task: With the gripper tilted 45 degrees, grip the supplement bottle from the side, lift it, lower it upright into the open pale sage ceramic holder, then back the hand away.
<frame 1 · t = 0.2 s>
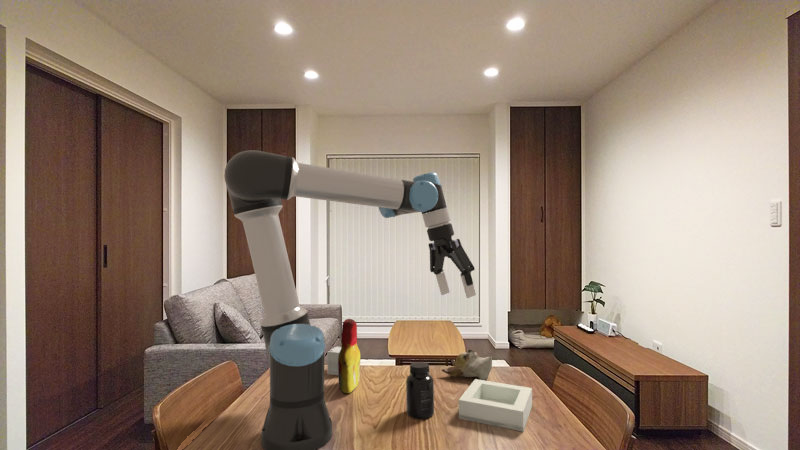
hand: (457, 295, 115), 27 cm above the table, fingers open, 13 cm apart
skincare box: (339, 372, 127), on the table
ceramic sculpture: (469, 377, 123), on the table
bottle: (348, 388, 114), on the table
holder: (496, 411, 98), on the table
supplement bottle: (420, 414, 97), on the table
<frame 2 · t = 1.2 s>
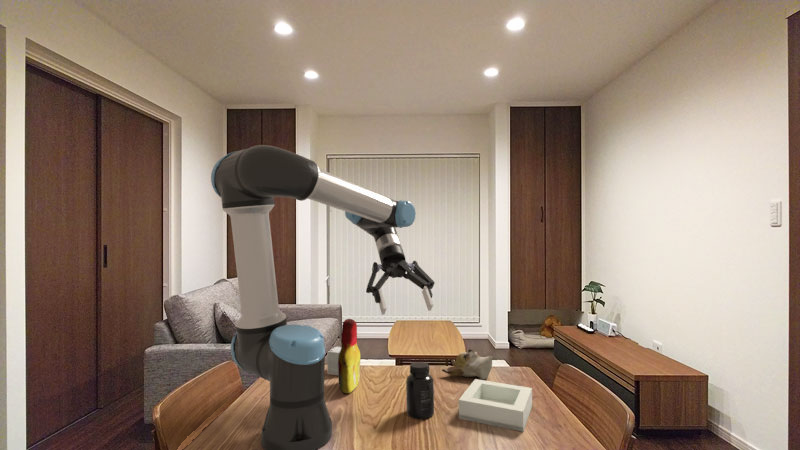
hand: (408, 309, 107), 24 cm above the table, fingers open, 13 cm apart
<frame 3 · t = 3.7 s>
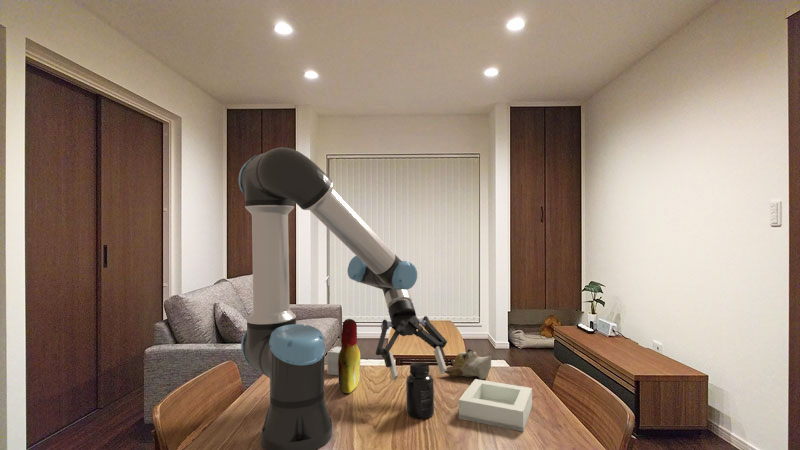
hand: (420, 374, 101), 8 cm above the table, fingers open, 13 cm apart
nothing on the table moved.
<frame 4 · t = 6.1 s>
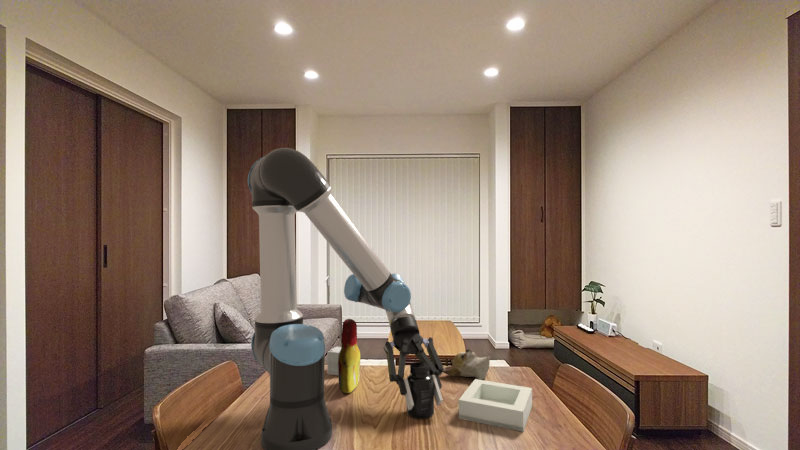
hand: (425, 404, 94), 4 cm above the table, fingers closed on supplement bottle, 7 cm apart
supplement bottle: (420, 414, 97), on the table, touching gripper
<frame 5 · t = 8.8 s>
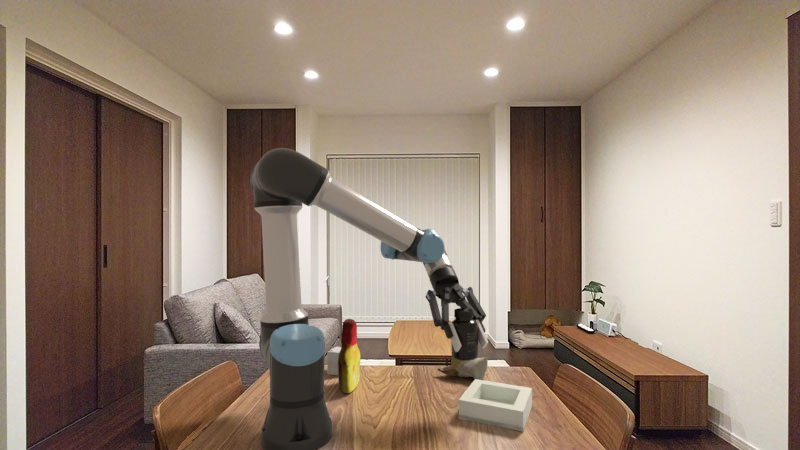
hand: (472, 347, 96), 17 cm above the table, fingers closed on supplement bottle, 7 cm apart
supplement bottle: (464, 357, 99), point 13 cm above the table, touching gripper
when the fingers open (6 cm above the table, at t = 11.2 s): supplement bottle drops 1 cm, resting on holder.
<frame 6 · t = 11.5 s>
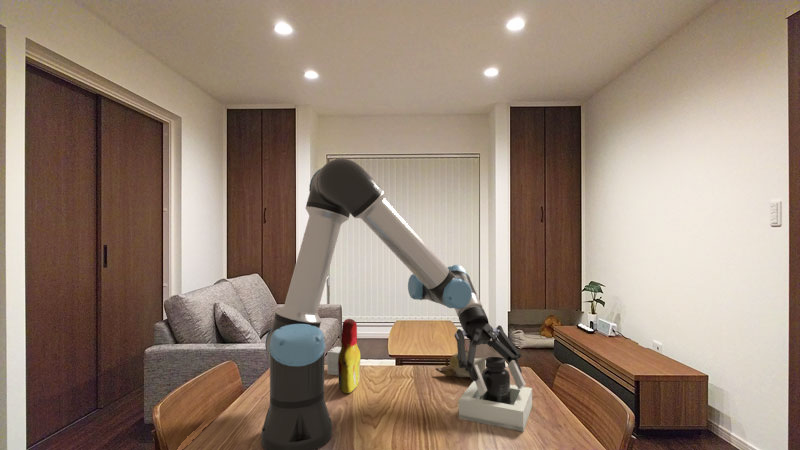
hand: (503, 389, 95), 7 cm above the table, fingers open, 10 cm apart
supplement bottle: (496, 408, 98), point 1 cm above the table, touching holder
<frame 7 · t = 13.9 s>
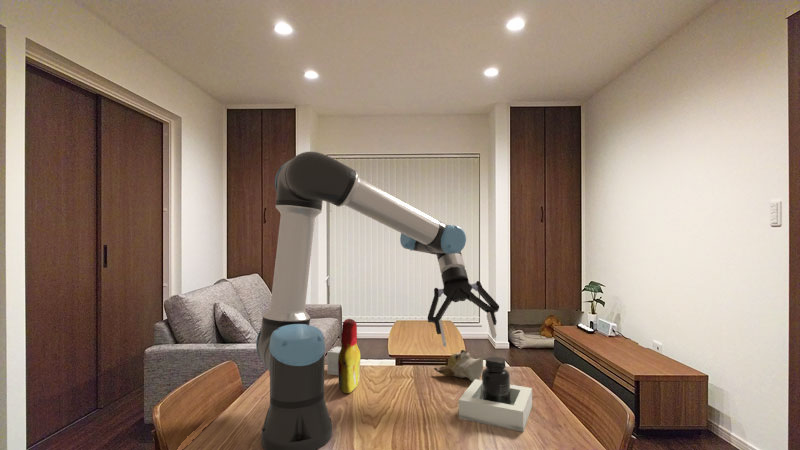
hand: (469, 341, 106), 16 cm above the table, fingers open, 13 cm apart
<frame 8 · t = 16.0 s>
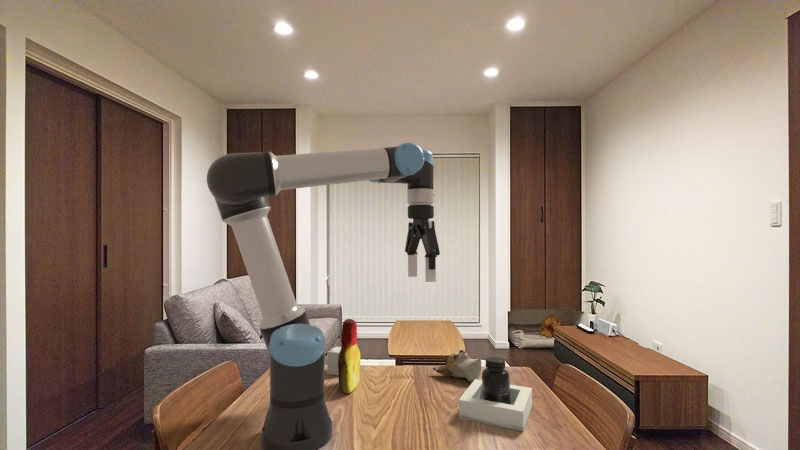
hand: (421, 279, 112), 32 cm above the table, fingers open, 13 cm apart
at the end: supplement bottle 0.1 cm off-centre on the holder, point 0.8 cm above the holder's base; supplement bottle tilted 0°; the gripper is holding nothing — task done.
